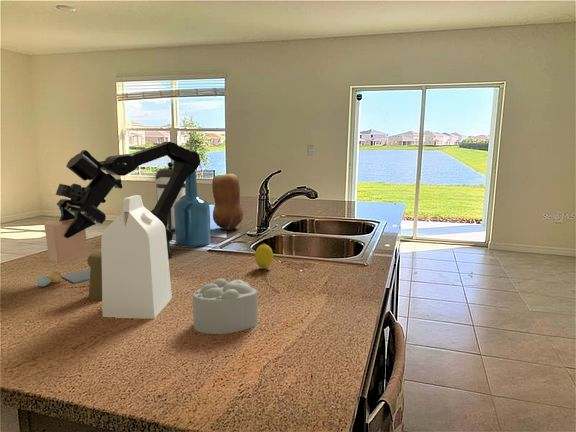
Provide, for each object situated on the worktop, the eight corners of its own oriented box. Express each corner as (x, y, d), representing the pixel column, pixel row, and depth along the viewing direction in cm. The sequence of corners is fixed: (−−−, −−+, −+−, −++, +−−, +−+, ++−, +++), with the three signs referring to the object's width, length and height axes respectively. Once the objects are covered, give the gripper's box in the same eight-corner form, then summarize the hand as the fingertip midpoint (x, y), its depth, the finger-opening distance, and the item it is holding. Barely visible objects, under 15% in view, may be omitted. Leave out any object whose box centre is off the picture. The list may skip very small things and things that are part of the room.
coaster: (98, 267, 123) (98, 266, 123) (113, 273, 118) (113, 272, 118) (60, 276, 115) (60, 275, 115) (74, 283, 109) (74, 282, 109)
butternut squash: (218, 225, 188) (217, 172, 184) (246, 226, 186) (245, 172, 182) (208, 232, 174) (207, 174, 170) (238, 233, 173) (237, 175, 168)
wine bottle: (216, 245, 152) (214, 165, 147) (182, 250, 145) (178, 166, 139) (202, 238, 163) (199, 164, 158) (170, 242, 156) (166, 164, 151)
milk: (126, 297, 100) (118, 193, 95) (171, 298, 99) (166, 193, 95) (102, 317, 88) (93, 200, 83) (154, 318, 88) (147, 200, 83)
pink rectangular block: (78, 252, 117) (74, 218, 115) (88, 256, 113) (84, 221, 111) (48, 259, 111) (44, 223, 109) (57, 263, 107) (53, 226, 105)
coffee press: (188, 234, 171) (185, 163, 165) (150, 233, 171) (146, 162, 166) (197, 225, 188) (195, 161, 182) (163, 225, 188) (160, 161, 183)
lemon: (276, 267, 124) (276, 242, 123) (267, 272, 119) (267, 246, 118) (260, 265, 127) (260, 240, 125) (251, 270, 122) (251, 244, 120)
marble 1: (52, 284, 108) (51, 274, 108) (44, 288, 105) (43, 277, 105) (42, 284, 109) (41, 273, 108) (34, 287, 106) (33, 277, 105)
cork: (88, 301, 97) (85, 257, 95) (88, 293, 102) (84, 251, 100) (116, 297, 99) (112, 254, 98) (114, 289, 105) (111, 249, 103)
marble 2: (64, 280, 112) (63, 270, 111) (56, 284, 109) (55, 273, 108) (54, 280, 112) (53, 269, 111) (46, 283, 109) (45, 273, 109)
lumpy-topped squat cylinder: (261, 326, 84) (261, 287, 83) (200, 339, 78) (199, 297, 77) (244, 308, 93) (243, 273, 92) (188, 319, 88) (186, 281, 86)
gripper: (60, 171, 116) (22, 214, 110) (89, 174, 104) (48, 223, 98) (90, 195, 124) (56, 236, 117) (121, 200, 112) (85, 247, 106)
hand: (60, 235), depth 109 cm, fingers closed on pink rectangular block, 6 cm apart
